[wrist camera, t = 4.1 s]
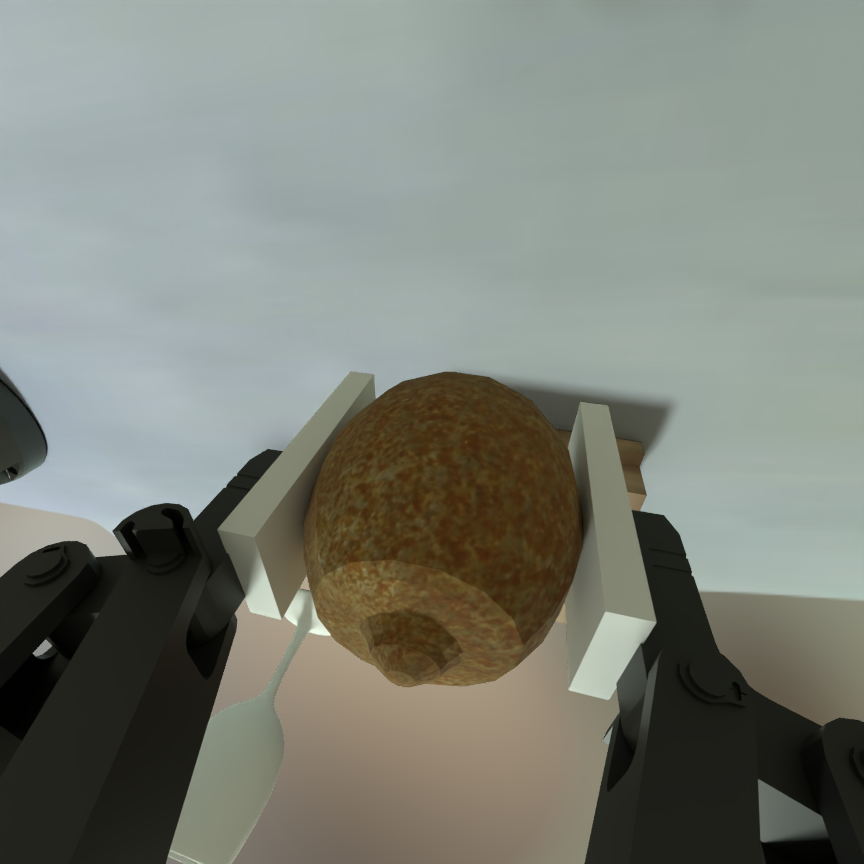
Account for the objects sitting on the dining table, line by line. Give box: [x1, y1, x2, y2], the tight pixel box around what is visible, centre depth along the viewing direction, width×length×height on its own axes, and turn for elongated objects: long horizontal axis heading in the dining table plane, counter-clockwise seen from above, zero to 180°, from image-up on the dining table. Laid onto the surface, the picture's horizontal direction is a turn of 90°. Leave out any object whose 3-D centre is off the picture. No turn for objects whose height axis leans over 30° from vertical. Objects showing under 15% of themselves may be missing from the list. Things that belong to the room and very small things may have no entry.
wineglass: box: [168, 589, 331, 864], centre depth 40 cm, size 9×9×21 cm
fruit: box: [304, 372, 583, 687], centre depth 10 cm, size 6×6×8 cm
